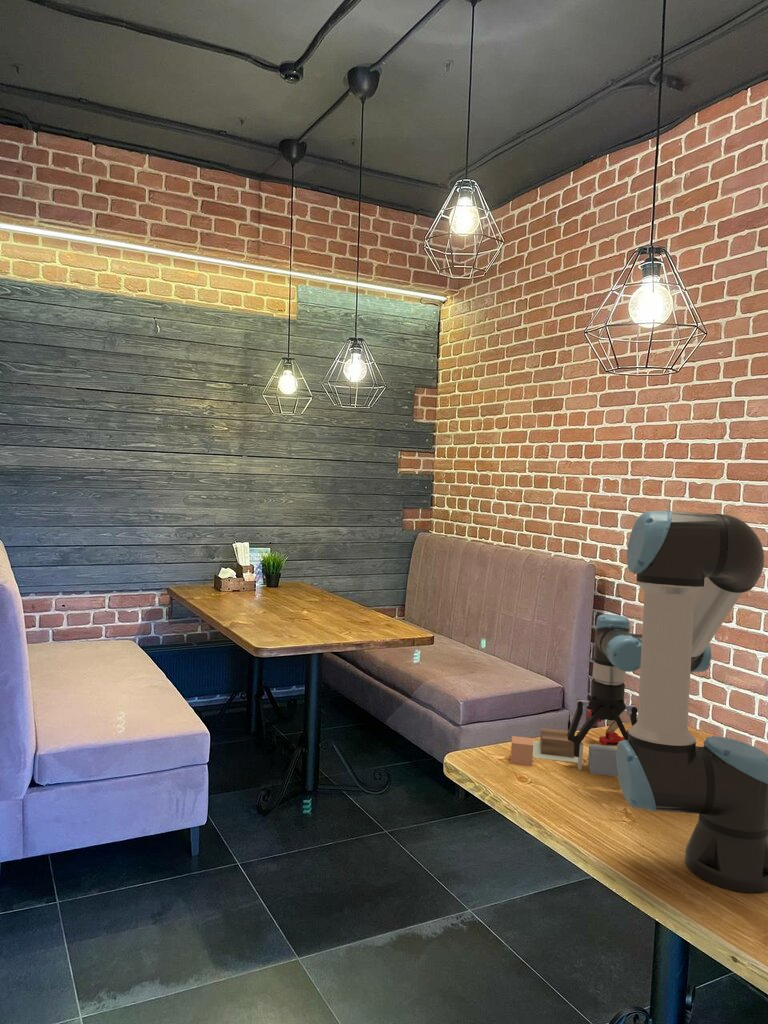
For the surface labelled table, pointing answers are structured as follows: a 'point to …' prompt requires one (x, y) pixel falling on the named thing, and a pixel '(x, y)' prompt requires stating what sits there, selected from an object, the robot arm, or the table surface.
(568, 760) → the plate
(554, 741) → the walnut base
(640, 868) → the table surface
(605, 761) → the slate brick
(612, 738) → the toy fire truck
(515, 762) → the terracotta brick
